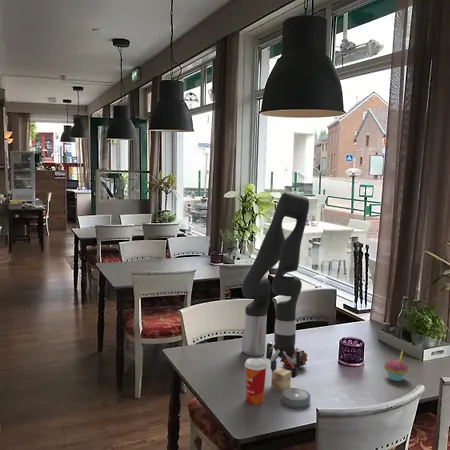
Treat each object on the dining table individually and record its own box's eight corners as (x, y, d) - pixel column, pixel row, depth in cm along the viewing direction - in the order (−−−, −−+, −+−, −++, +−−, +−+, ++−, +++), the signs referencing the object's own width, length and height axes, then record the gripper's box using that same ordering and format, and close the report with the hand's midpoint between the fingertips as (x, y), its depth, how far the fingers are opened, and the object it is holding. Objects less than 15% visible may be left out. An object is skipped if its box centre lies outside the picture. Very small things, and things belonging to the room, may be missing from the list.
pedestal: (274, 401, 168) (275, 394, 168) (290, 392, 176) (291, 384, 175) (300, 411, 162) (300, 404, 161) (315, 401, 169) (315, 393, 169)
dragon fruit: (309, 370, 198) (282, 377, 195) (301, 352, 204) (274, 359, 201) (313, 359, 193) (285, 366, 189) (305, 341, 198) (277, 347, 195)
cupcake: (406, 376, 192) (408, 346, 191) (407, 385, 184) (409, 354, 183) (383, 372, 195) (385, 343, 194) (383, 381, 187) (385, 350, 186)
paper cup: (241, 395, 172) (243, 357, 170) (263, 395, 172) (265, 357, 171) (244, 406, 164) (246, 366, 162) (267, 406, 165) (269, 366, 163)
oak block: (271, 387, 179) (271, 371, 178) (278, 382, 183) (279, 367, 182) (282, 391, 176) (283, 375, 175) (290, 387, 180) (291, 371, 179)
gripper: (307, 332, 175) (306, 376, 177) (274, 324, 184) (273, 366, 186) (296, 338, 170) (295, 383, 171) (262, 329, 179) (261, 372, 180)
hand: (283, 374), depth 179 cm, fingers open, 8 cm apart
